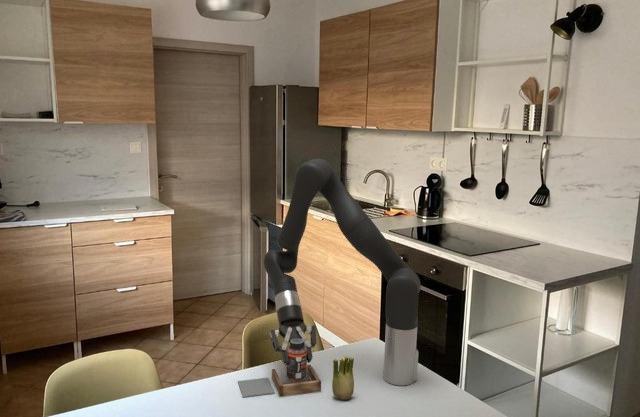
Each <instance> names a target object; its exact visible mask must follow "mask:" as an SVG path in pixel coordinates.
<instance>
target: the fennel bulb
mask: <svg viewBox="0 0 640 417" xmlns="http://www.w3.org/2000/svg"><path fill="white" fill-rule="evenodd" d="M338 360H339V361H338ZM354 360H355V358H354V357H352V356H346V355H345V356H344V357H341V358H340V359H338V358H336V357H335V358H333V362H332V363H333V368H332V369H333V371H332V382H331V383H332V384H331V386H332V389H331V390H332V394H333V396H334V398H337V399H339V400H341V401H347V400H350V399H351V398H352V396H353V394H354V391H355V380H354V370H353V369H354Z"/></svg>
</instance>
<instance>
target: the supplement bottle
mask: <svg viewBox="0 0 640 417" xmlns="http://www.w3.org/2000/svg"><path fill="white" fill-rule="evenodd" d="M286 350H287V353H288V359H289V364H288V365H285V366H286V367H285V369H286V370H285V371H286V372H285V374H286V378H287V379H288V380H290V381H293V382H302V381H304V380H305V379H306V378H307V376H308V375H307V365H308V362H307V348H306V347H305V346H304V340H303V339H300V338H293V339H291V340H290V342H289V346H288V347H286Z"/></svg>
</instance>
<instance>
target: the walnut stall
mask: <svg viewBox="0 0 640 417" xmlns="http://www.w3.org/2000/svg"><path fill="white" fill-rule="evenodd" d="M307 376H308V378H309V379H310V380H309V381H299V382H292V383H286V384H284V383H283V382H282V380H281V378H280V376H279V374H278V372H277V370H276V368H271V380H272V383H273V384H274V387H275V388H276V392H277V394H278V396H279V398H281V397H290V396H297V395H303V394H312V393H313V394H314V393H320V392H322V380H321V379H320V377H319V375H318V374H317V372H316V371H315V368H313V366H312V365H311V364H307Z"/></svg>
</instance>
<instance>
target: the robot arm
mask: <svg viewBox="0 0 640 417" xmlns="http://www.w3.org/2000/svg"><path fill="white" fill-rule="evenodd" d="M296 170H297V171H296V173H295V176H294V177H295V178H294V183H293V187H292V188H293V189H292V194H291V198H290V202H289V205H288V209H287V212H286V216H285V218H284V221H283V224H282V226H281V229H280V231H279V234H278V237H277V239H276V240H277V244H278V246H279V247H280V248H282V249H284V250H276V249H271V250H268V251H267V252H266V253H265V255H264V258H263V264H264V265H263V266H264V268H265V272H266V273H267V275H268V277H269V280H270V283H272V286H273V292H274V300H275V310H276V316H277V323H278V329H271V330H270V332H269V338H270V340H271V344H272V347H273V350H274V352H276V353H277V352H279V353H280V354H281V359H282V363H283V364H284V365H285V366H286V365H288V364H289V359H288V353H287V348H288V347H287V346H288V344H289V343H290V340H291V339H293V338H300V339H303V340H304V346H305V347H306V348H307V364H308V363H311V361H312V360H313V352H312V349H313V348H316V345H317V343H318V342H317V330H316V328H317V327H316V325H313V324H312V325H311V326H307V325H306V324H305V321H304V320H305V319H304V315H303V314H304V313H303V310H302V304H301V299H300V296H299V293H298V288H297V282H296V279H295V277H293V276H292V275H289V274H291V273H292V272H294V271H295V270H296V268H297V266H298V256H299V255H298V254H299V248H300V244H301V241H302V239H303V236H304V233H305V230H306V227H307V222H308V213H309V209H310V206H311V204H312V202H313V200H314V198H315V197H316V195H317V193H318V192H319V193H320V194H321V195H322V197H323V198H324V199H325V200H326V202H327V204H328V205H329V206H330V207H331V210H332V212H333V215H334V219H335V221H336V223H337V226H338V228H339V230H340V232H341V234H343V236H344V237H345V239H346V240H347V241H348V242H349V244H350V245H351V246H352V248H354V249H355V250H356V251H357V252H358V253H359V254H361V255H362V256H364V257H365V258H366V259H367V260H369V261H370V262H372V264H374V265H375V266H376V267H377V269H378V270H379V271H380V272H381V274H382V275H383V277H384V278H385V280H386V282H387V285H386V288H385V289H386V290H385V312H384V313H385V319H386V321H385V336H384V338H385V339H384V354H383V356H384V357H383V371H382V372H383V375H382V376H383V377H382V378H383V379H384V381H385V382H387V383H389V384H390V385H391V384H392V385H394V386H409V385H411V384H413V383H414V382H417V381H418V365H419V350H418V349H417V341H418V340H417V338H418V336H417V335H418V324H419V322H418V321H419V317H418V311H419V310H418V308H419V293H420V291H421V280H420V277H419V276H418V274H417V273H416V271H414V269H412V268H411V267H410V266H409V265H408V263H406V262H405V260H403V259H402V258H401V257H400V256H399V255H398V253H397V252H396V251H395V250H394V248H393V247H392V246H391V244H390V242H389V241H388V240H387V239H386V237H385V236H384V235H383V233H382V232H381V231H380V229H379V228H378V227H377V226H376V223H374V222H373V220H372V219H371V218H370V217H369V215H368V214H367V213H366V212H365V211H364V209H363V208H362V207H361V205H359V203H358V201H356V199H355V198H354V197H353V196H352V195H351V194H350V192H349V190H348V189H347V188H346V187H345V185H344V184H343V182H342V180H341V179H340V177H339V176H338V175H337V173H336V172H335V169H334V168H333V166H332V165H331V164H330V163H329V162H327V161H326V160H324V159H322V158H314V159H311V160H308V161H306V162H304V163H302V164H300V165H299V167H298V168H297V169H296ZM285 250H286V251H285ZM306 332H307V333H308V334H309V336H310V342H309V340H308V337H307V336H306V334H305V333H306ZM279 335H280V336H281V337H282V338H283V342H282V345H280V343H279V340H278V337H279Z"/></svg>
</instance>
